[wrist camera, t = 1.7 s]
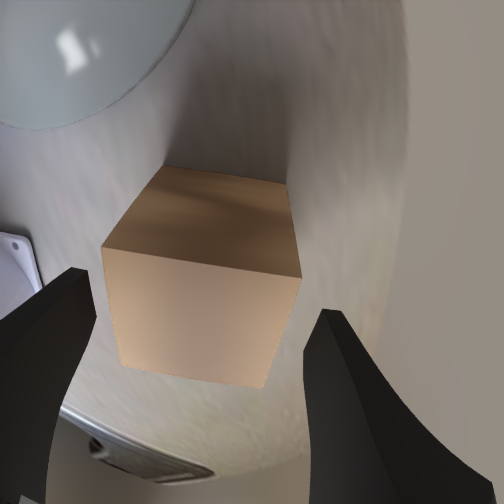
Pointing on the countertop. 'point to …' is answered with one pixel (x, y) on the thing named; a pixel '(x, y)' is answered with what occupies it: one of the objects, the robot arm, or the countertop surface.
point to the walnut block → (203, 276)
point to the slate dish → (78, 55)
